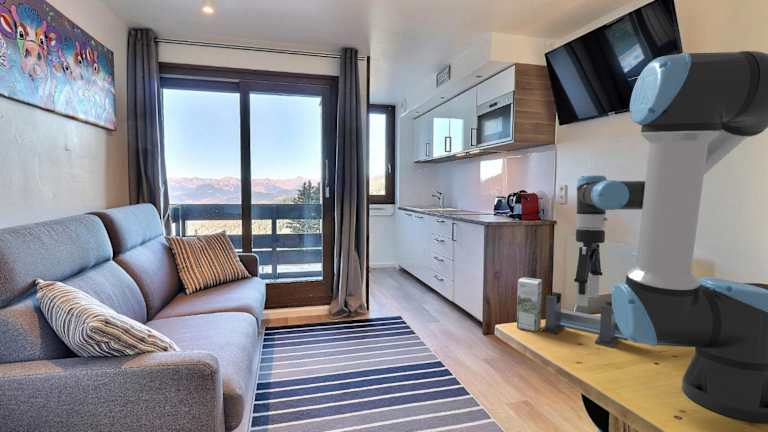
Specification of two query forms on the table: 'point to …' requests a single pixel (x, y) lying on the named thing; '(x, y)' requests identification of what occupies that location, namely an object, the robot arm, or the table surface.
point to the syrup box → (529, 304)
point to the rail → (584, 320)
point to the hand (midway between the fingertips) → (588, 301)
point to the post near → (607, 326)
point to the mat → (589, 329)
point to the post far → (553, 314)
